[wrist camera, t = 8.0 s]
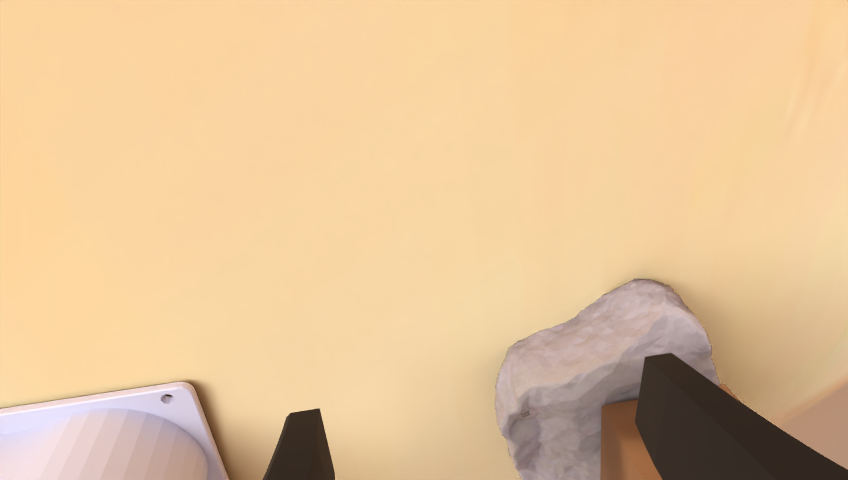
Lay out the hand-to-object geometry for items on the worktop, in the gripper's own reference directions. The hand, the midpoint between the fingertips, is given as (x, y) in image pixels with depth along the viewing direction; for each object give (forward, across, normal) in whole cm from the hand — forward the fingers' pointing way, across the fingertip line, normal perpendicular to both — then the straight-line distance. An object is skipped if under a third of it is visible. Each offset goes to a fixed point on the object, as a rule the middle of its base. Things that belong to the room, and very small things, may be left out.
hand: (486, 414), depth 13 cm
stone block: (+10, -8, +11) cm, 17 cm away
